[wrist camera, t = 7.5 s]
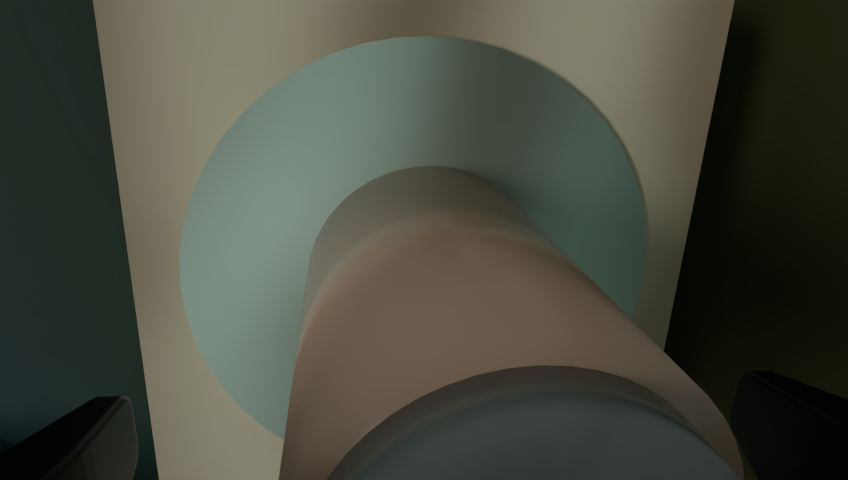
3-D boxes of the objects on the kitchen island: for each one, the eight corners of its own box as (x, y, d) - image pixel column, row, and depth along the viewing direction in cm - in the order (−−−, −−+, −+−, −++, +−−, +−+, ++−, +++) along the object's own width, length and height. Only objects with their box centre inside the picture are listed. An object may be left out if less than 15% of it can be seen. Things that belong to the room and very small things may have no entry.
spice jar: (550, 166, 12) (866, 373, 5) (527, 376, 14) (736, 765, 6) (303, 165, 11) (238, 401, 4) (310, 385, 13) (271, 831, 6)
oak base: (670, 0, 14) (741, -6, 11) (598, 423, 18) (640, 487, 15) (135, -29, 12) (82, -43, 10) (189, 443, 16) (160, 519, 14)
